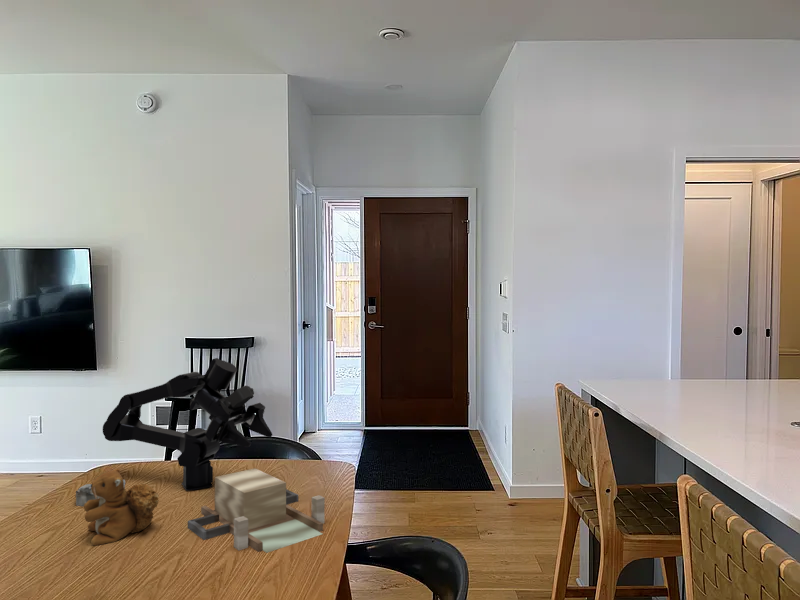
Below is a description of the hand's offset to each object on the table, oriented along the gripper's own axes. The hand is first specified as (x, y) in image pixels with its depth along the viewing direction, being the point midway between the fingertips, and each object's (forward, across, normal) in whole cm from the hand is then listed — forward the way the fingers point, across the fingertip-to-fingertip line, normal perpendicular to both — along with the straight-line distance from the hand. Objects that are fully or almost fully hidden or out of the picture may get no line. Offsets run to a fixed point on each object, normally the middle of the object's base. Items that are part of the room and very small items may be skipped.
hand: (261, 440), depth 141 cm
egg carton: (-22, -17, +29) cm, 41 cm away
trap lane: (+16, -16, +6) cm, 23 cm away
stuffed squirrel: (-5, -30, +18) cm, 36 cm away
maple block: (+12, -14, +8) cm, 20 cm away
